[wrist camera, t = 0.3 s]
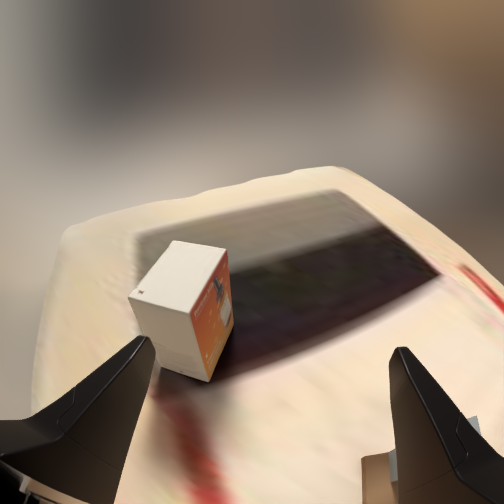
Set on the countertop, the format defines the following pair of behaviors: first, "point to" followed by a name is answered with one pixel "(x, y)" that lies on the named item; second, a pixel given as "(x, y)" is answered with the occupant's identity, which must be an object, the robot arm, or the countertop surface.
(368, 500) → the base plate
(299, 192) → the countertop surface
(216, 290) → the small box
